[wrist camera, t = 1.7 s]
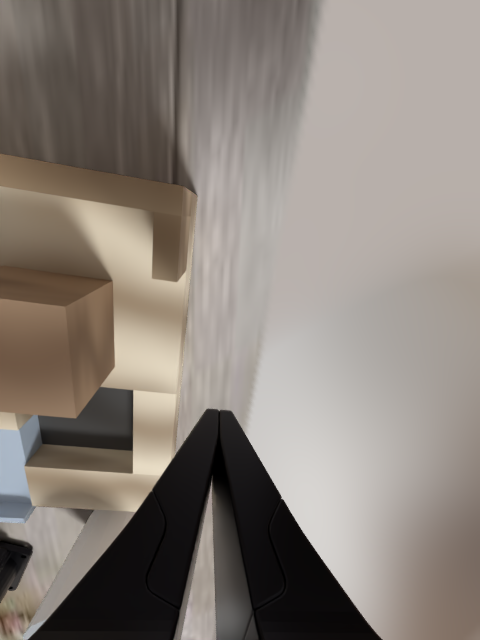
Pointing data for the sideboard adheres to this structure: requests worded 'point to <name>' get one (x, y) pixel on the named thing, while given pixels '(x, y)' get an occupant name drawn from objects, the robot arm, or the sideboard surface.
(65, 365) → the walnut block
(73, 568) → the white cylinder
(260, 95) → the sideboard surface
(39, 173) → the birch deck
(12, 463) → the strip
